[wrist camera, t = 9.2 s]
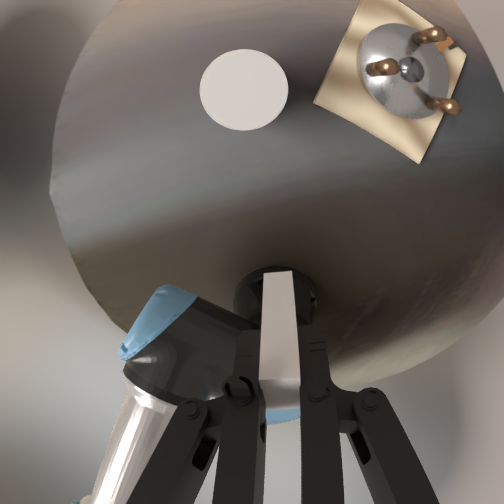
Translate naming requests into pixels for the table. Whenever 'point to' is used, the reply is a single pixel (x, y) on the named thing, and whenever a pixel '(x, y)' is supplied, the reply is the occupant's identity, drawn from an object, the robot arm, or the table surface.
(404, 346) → the table surface
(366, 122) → the base board
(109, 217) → the table surface
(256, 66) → the cup
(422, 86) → the capstan wheel
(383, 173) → the table surface
